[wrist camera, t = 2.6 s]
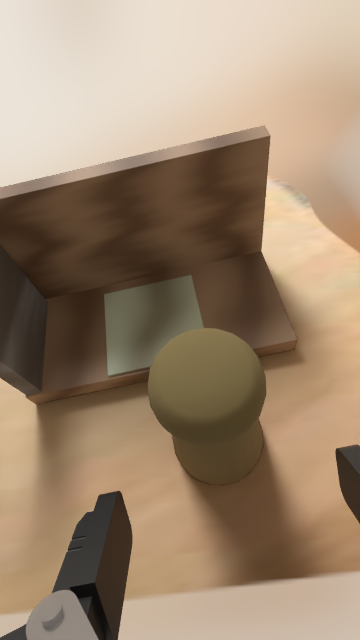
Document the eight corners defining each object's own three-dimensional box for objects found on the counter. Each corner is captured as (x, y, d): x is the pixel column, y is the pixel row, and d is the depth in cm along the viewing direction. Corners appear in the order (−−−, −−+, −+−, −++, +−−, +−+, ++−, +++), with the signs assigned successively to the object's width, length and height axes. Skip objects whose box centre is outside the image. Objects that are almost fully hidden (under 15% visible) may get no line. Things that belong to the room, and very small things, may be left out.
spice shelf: (36, 404, 26) (-83, 327, 16) (43, 300, 32) (-42, 197, 22) (294, 349, 25) (328, 235, 16) (256, 253, 31) (264, 125, 21)
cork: (271, 481, 21) (297, 438, 12) (175, 489, 22) (127, 455, 12) (254, 388, 24) (263, 298, 15) (170, 397, 25) (130, 316, 16)
